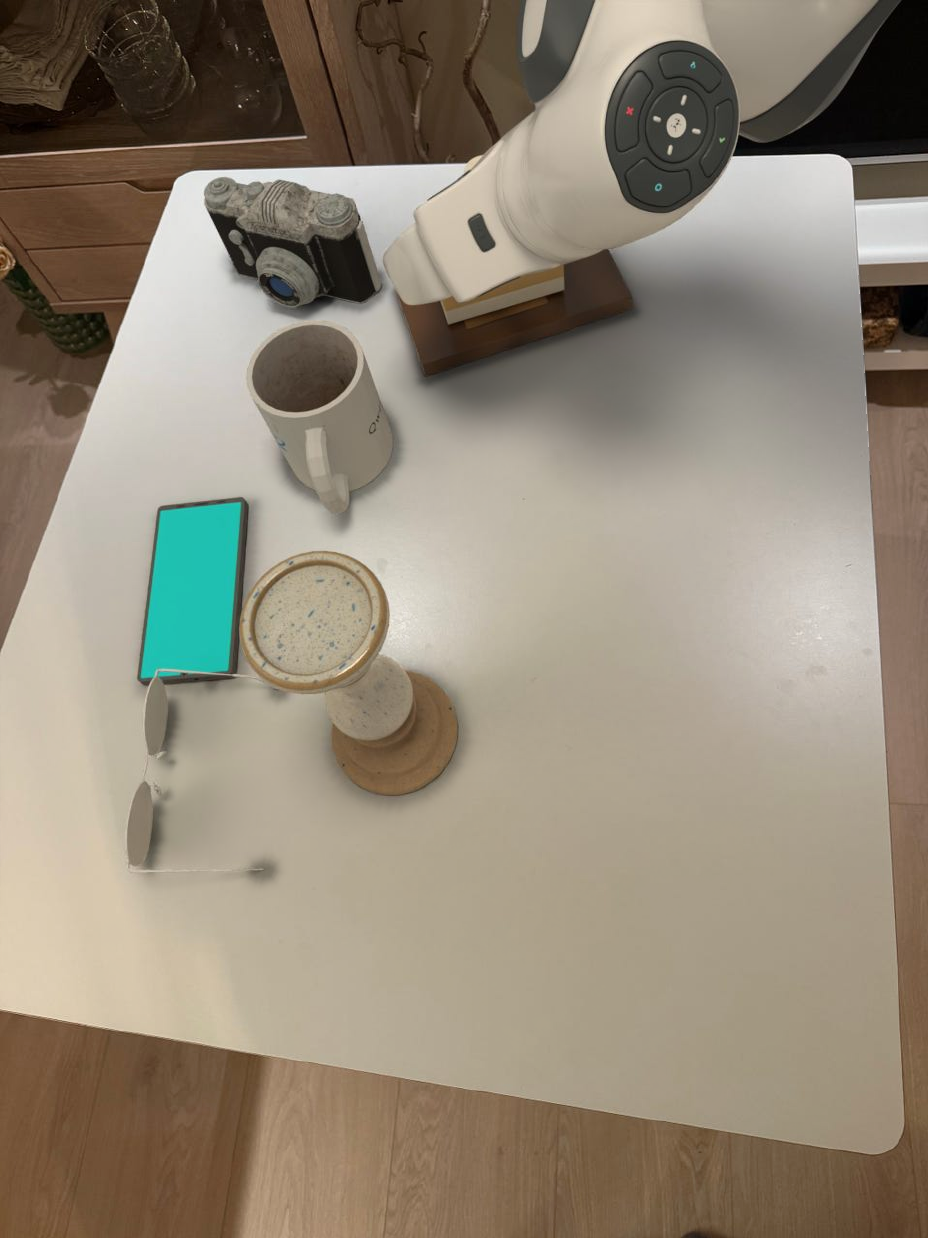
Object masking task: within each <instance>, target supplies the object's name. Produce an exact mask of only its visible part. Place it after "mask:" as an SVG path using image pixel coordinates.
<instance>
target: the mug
mask: <svg viewBox="0 0 928 1238" xmlns="http://www.w3.org/2000/svg"><path fill="white" fill-rule="evenodd" d="M371 372H372V371H371V370H370V367H369V364H368V361H367V359H366V355H365V353H364V351H363V347H362V346H361V343H360V341H359V339H358V338H357V337H356V336H355V334H354V333H353V332H352V331H350V330H349V329H348V328H347V327H345V326H343V325H342V324H341V325H340V324H338V323H336V322H334V321H333V322H332V321H330V320H329V321H328V320H323V319H310V320H301V321H299V322H294V323H291V324H288V325H286V326H284V327H281V328H280V329H277V330H276V331H275V332H273V333H272V334H270V335H269V336H267V337H266V338H265V339H264V340H263V341H262V342H261V343H260V344H259V345H258V346H257V348H255V350H254V352H253V354H252V355H251V358H250V359H249V362H248V364H247V368H246V375H245V381H246V387H247V391H248V392H249V396H250V397H251V399H252V401H253V402H254V404H255V406H256V408H257V410H258V411H259V413H260V415H261V417H262V419H263V420H264V423H265V424H266V426H267V427H268V430H269V431H270V433H271V435H272V436H273V438H274V440H275V442H276V443H277V445H278V447H279V449H280V451H281V453H282V454H283V456H284V458H285V459H286V461H287V463H288V465H289V467H290V469H291V470H292V472H293V474H294V475H295V477H296V478H297V479H298V480H299V482H301V483H302V484H303V485H304V486H305V487H308V488H309V489H311V490H313V491H315V492H316V493H317V496H318V498H319V500H320V502H321V503H322V505H323V506H324V508H325V509H327V510H328V512H329V513H331V514H340V513H343V512H345V511H346V510H347V509H348V508H349V505H350V492H353V491H356V490H358V489H360V488H362V487H365V486H367V485H368V484H369V483H371V482H372V481H374V480H375V479H376V478H377V477H378V476H379V475H380V474H381V473H382V471H383V470H384V469H385V468H386V466H387V465H388V463H389V461H390V458H391V456H392V453H393V450H394V438H393V432H392V429H391V426H390V423H389V420H388V418H387V415H386V412H385V409H384V406H383V403H382V401H381V398H380V395H379V391H378V389H377V387H376V384H375V381H374V378H373V375H372V373H371Z"/></svg>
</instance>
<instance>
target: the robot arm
mask: <svg viewBox="0 0 928 1238" xmlns="http://www.w3.org/2000/svg"><path fill="white" fill-rule="evenodd" d="M901 1H902V0H520V2H519V7H518V8H519V9H518V17H517V25H516V57H517V58H516V59H517V62H518V67H519V71H520V75H521V81H522V84H523V85H522V86H523V88H524V92H525V95H526V96H527V99H528V101H529V103H530V104H531V105H534V107H535V109H534V111H532V112H531V113H530V114H529V115H528V116H526V117H525V118H523V119H522V120H521V121H520V122H519V123H517V124H515V126H514V127H513V128H511V129H510V130H509V131H508V132H506V133H505V134H504V135H502V137H500V138H499V140H498V141H497V142H496V143H494V144H493V145H491V146H490V148H488V149H487V150H486V152H485V153H484V154H482V155H483V156H482V157H481V158H480V160H479V161H478V162H477V163H476V164H475V165H474V166H473V168H472V169H471V170H468V171H467V172H466V173H463V174H462V175H461V176H459V177H458V178H457V179H456V180H454V181H453V182H452V183H450V184H448V185H447V186H445V187H444V188H443V189H441V190H439V191H438V192H437V193H434V194H433V195H432V196H430V197H429V198H428V199H426V201H425V202H423V203H422V204H420V205H419V206H417V207H416V208H415V210H414V211H413V213H412V216H413V218H414V223H413V224H411V225H410V226H409V227H408V228H406V229H405V230H404V231H403V232H402V233H401V234H400V235H399V236H397V238H395V240H394V241H393V243H391V244H390V245H389V247H388V248H387V250H386V251H385V252H384V254H383V256H382V264H383V267H384V270H385V272H386V273H387V276H388V278H389V280H390V282H391V284H392V286H393V288H394V290H395V289H396V290H395V292H396V291H397V293H398V294H399V296H400V298H401V299H402V300H403V302H404V303H406V304H408V305H421V304H427V303H433V302H437V301H441V300H444V299H446V298H449V297H452V296H453V297H454V298H455V300H456V301H457V302H458V303H465V302H468V301H470V300H472V299H474V298H477V297H480V296H482V295H484V294H486V293H488V292H490V291H492V290H494V289H496V288H498V287H500V286H502V285H504V284H506V283H508V282H511V281H513V280H516V279H519V278H521V276H523V275H527V274H533V273H538V272H544V271H547V270H550V269H553V268H556V267H558V266H561V265H564V264H567V263H570V262H573V261H576V260H579V259H583V258H586V257H589V256H592V255H594V254H597V253H599V252H600V251H602V250H604V249H608V250H610V249H616V248H620V247H623V246H625V245H628V244H629V245H630V244H632V243H634V242H635V243H636V242H637V241H639V240H642V239H644V238H648V237H649V236H652V235H654V234H657V233H658V232H660V231H663V230H665V229H666V228H668V227H670V226H672V225H674V223H676V222H678V221H679V220H681V219H682V218H684V216H687V214H689V212H691V211H693V209H694V208H695V207H696V206H697V205H698V204H700V203H701V202H702V201H703V199H705V198H706V196H707V195H708V194H709V193H710V192H711V191H712V190H713V189H714V187H715V186H716V185H717V183H718V182H719V180H720V179H721V178H722V177H723V175H724V173H725V171H726V170H727V168H728V167H729V164H730V162H731V160H732V158H733V156H734V153H735V150H736V146H737V143H738V139H739V136H741V137H743V138H746V139H748V140H750V141H752V142H755V143H770V142H773V141H777V140H779V139H781V138H784V137H785V136H787V135H790V134H791V133H793V132H795V131H797V130H799V129H801V128H802V127H803V126H805V125H807V124H809V123H810V122H811V121H813V120H814V119H816V118H817V117H818V116H819V115H821V114H822V113H823V112H824V111H825V110H826V109H827V108H828V107H829V106H830V105H831V104H832V103H833V102H834V101H835V100H836V98H837V97H838V96H839V94H840V93H841V92H842V91H843V89H844V87H845V86H846V85H847V83H848V81H849V80H850V78H851V76H852V75H853V73H854V72H855V70H856V68H858V67H857V66H858V65H859V63H860V62H861V60H862V58H863V57H864V54H865V53H866V51H867V49H868V48H869V46H870V44H871V43H872V41H873V40H874V38H875V36H876V34H877V33H878V32H879V30H880V28H881V27H882V25H883V24H884V23H885V21H886V20H887V19H888V18H889V16H890V15H891V13H893V11H894V10H895V9H896V7H897V6H898V5H899V4H900V3H901ZM397 293H396V294H397Z"/></svg>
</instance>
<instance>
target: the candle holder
mask: <svg viewBox="0 0 928 1238" xmlns="http://www.w3.org/2000/svg"><path fill="white" fill-rule="evenodd" d="M241 609H242V610H241V611H240V624H239V641H240V647H241V649H242V652H243V654H244V656H245V659H246V661H247V663H248V664H249V666H250V668H251V669H252V670H253V671H254V672H255V674H257V676H258V677H259V678H261V679H263V680H264V681H266V682H267V683H268V684H270V685H272V686H274V687H276V688H278V689H279V690H281V691H284V692H286V693H290V694H297V695H317V694H324V701H325V703H324V705H325V708H326V712H327V714H328V716H329V719H330V720H331V722H332V725H331V746H332V750H333V754H334V757H335V759H336V762H337V764H338V766H339V767H340V769H341V771H342V772H343V773H344V774H345V775H346V776H347V778H349V780H350V781H352V782H353V783H354V784H356V785H357V786H359V787H360V788H362V789H364V790H366V791H368V792H372V793H375V794H378V795H383V796H400V795H406V794H410V793H412V792H415V791H418V790H419V789H422V788H424V787H426V786H427V785H428V784H430V783H431V782H433V781H434V780H435V779H436V778H437V777H438V776H439V775H441V773H442V772H443V771H444V769H445V768H446V767H447V765H448V764H449V762H450V760H451V759H452V756H453V754H454V752H455V749H456V747H457V746H456V745H457V741H458V731H459V730H458V728H459V727H458V720H457V714H456V711H455V708H454V706H453V703H452V701H451V699H450V697H449V696H448V695H447V694H446V692H445V690H444V689H443V688H442V687H441V686H440V685H439V684H438V683H437V682H435V681H434V680H432V679H430V678H429V677H427V676H425V675H423V674H421V673H418V672H415V671H412V670H405V668H403V667H402V666H401V664H399V663H398V662H397V661H395V660H394V659H393V658H390V657H389V656H387V655H384V654H380V652H381V651H382V649H383V646H384V644H385V641H386V639H387V636H388V631H389V627H390V619H391V617H390V616H391V613H390V611H391V610H390V603H389V600H388V597H387V592H386V591H385V589H384V586H383V584H382V582H381V581H380V580H379V578H378V577H377V575H376V574H375V572H373V571H372V570H371V569H370V568H369V567H368V566H367V565H366V564H364V563H363V562H361V561H360V560H358V559H356V558H355V557H353V556H350V555H348V554H344V553H341V552H337V551H331V550H329V551H328V550H315V551H314V550H313V551H307V552H302V553H299V554H296V555H292V556H290V557H288V558H286V559H284V560H282V561H280V562H278V563H277V564H275V565H274V566H273V567H271V568H270V569H268V570H267V571H266V572H265V573H264V574H262V576H261V577H260V578H259V579H258V580H257V581H256V583H255V584H254V585H253V587H252V588H251V590H250V592H249V593H248V594H247V597H246V599H245V601H244V603H243V606H242V608H241Z"/></svg>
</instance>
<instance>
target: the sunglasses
mask: <svg viewBox="0 0 928 1238" xmlns="http://www.w3.org/2000/svg"><path fill="white" fill-rule="evenodd" d="M159 672H178V673H196V674H214V675H230V674H219V673H207V672H196V671H185V670H173V669H158V670H156V672H155V677H154V678H153V679H152V680H151V682H150V684H149V685H148V686H147V690H146V693H145V694H146V695H145V698H144V704H143V713H142V736H143V743H144V747H145V750H146V751H145V763H144V769H143V772H142V780H141V782H140V783H139V784H138V785H137V786H136V788H135V790H134V792H133V794H132V796H131V799H130V803H129V806H128V810H127V811H128V812H127V816H126V822H125V829H124V830H125V831H124V832H125V833H124V849H125V855H126V859H127V861H126V865H125V868H126V869H125V870H126V871H127V872H128V873H131V874H153V873H187V872H189V873H191V872H193V873H194V872H211V873H218V872H222V873H223V872H224V873H225V872H239V871H263V870H265V868H212V869H131V868H130V865H131V866H132V867H138V866H140V865H142V864H144V862H145V860H146V858H147V856H148V854H149V853H148V852H149V849H150V844H151V838H152V833H153V832H152V831H153V822H154V821H153V820H154V819H153V817H154V816H153V814H154V811H153V797H152V789H153V791H155V792H156V794H157V795H158V796H161V795H162V788H161V787H160V785H159V783H158V782H157V781H156V780H153V781H152V783H153V784H149V783H148V782H147V781H146V774H147V773H146V772H147V769H148V763H149V756H151V757H152V756H156V758H155V759H156V760H157V761H159V760H162V758H163V757H165V755H166V754H168V752H167V751H166V750H163V751H161V748H162V747H163V743H164V740H165V736H166V731H167V725H168V715H169V700H168V699H169V698H168V694H167V690H166V687H165V684H163V682H162V680H161V679H160V678H159V677H157V676H158V673H159ZM232 676H234V678H235V677H237V678H249V679H254V680H257V681H259V682H262V683H264V684H265V685H267V686H269V687H271V688H273V689H275V690H277V691H279V690H280V689H278V688H276V687H274V686H272V685H270V684H268V683H267V682H266V681H264V680H263V679H262V678H261V677H259V676H254V675H248V674H239V673H236V674H233V675H232ZM151 787H152V788H151Z"/></svg>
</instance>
